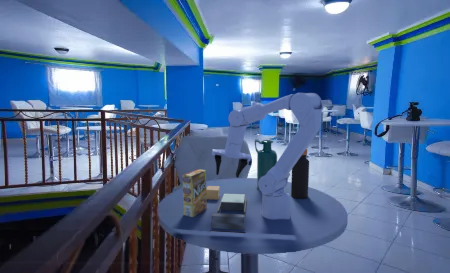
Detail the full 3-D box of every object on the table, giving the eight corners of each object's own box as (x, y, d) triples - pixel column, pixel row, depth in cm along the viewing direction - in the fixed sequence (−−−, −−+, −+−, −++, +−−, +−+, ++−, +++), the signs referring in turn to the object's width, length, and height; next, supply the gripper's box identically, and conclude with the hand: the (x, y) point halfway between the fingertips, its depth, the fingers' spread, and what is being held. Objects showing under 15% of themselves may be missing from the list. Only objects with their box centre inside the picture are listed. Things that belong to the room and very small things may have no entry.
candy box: (193, 220, 96) (192, 176, 94) (182, 217, 99) (181, 174, 96) (207, 211, 104) (206, 170, 102) (197, 209, 106) (197, 168, 104)
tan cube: (220, 198, 118) (219, 186, 117) (218, 202, 113) (218, 190, 112) (208, 197, 118) (207, 185, 118) (205, 201, 113) (205, 189, 113)
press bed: (248, 203, 111) (249, 191, 110) (245, 233, 87) (245, 217, 87) (220, 202, 112) (220, 190, 112) (210, 231, 89) (209, 215, 88)
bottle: (309, 199, 116) (311, 150, 113) (292, 199, 116) (294, 150, 113) (305, 193, 123) (307, 147, 120) (289, 193, 123) (290, 147, 120)
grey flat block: (244, 201, 110) (244, 194, 110) (243, 211, 101) (243, 203, 101) (224, 201, 111) (224, 193, 111) (221, 210, 102) (220, 202, 102)
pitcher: (275, 185, 134) (276, 138, 130) (276, 191, 125) (277, 141, 122) (254, 185, 134) (254, 138, 131) (254, 190, 126) (254, 141, 123)
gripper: (251, 141, 110) (243, 172, 114) (214, 135, 108) (207, 167, 112) (255, 147, 103) (246, 181, 107) (215, 141, 101) (208, 176, 105)
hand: (227, 175), depth 109 cm, fingers open, 7 cm apart
